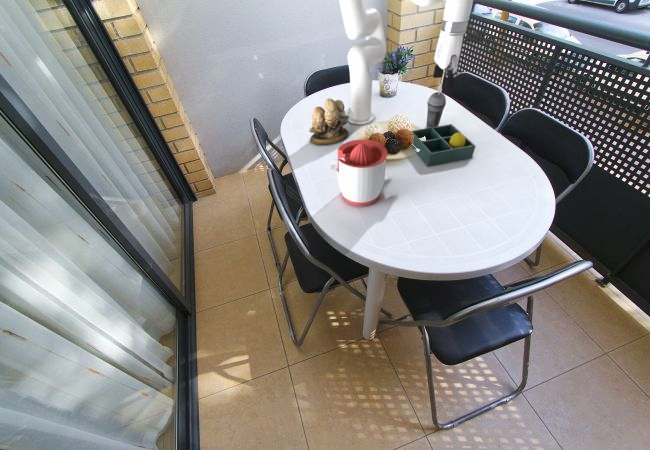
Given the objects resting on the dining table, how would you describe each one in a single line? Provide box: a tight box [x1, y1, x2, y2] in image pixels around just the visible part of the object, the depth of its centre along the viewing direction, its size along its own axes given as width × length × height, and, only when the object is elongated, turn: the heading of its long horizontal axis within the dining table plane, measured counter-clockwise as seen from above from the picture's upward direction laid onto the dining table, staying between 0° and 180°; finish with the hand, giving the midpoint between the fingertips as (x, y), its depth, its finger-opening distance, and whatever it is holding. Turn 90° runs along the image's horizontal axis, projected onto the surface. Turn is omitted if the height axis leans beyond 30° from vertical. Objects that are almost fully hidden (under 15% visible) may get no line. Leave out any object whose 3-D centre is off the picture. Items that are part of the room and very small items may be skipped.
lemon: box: [449, 131, 466, 149], centre depth 118 cm, size 6×6×8 cm
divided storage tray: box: [410, 123, 476, 167], centre depth 122 cm, size 18×18×5 cm
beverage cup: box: [426, 81, 447, 128], centre depth 129 cm, size 7×7×20 cm
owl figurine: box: [308, 98, 349, 146], centre depth 131 cm, size 18×12×17 cm, turn 116°
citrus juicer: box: [330, 139, 389, 207], centre depth 101 cm, size 16×17×20 cm
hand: (441, 82), depth 109 cm, fingers open, 9 cm apart
